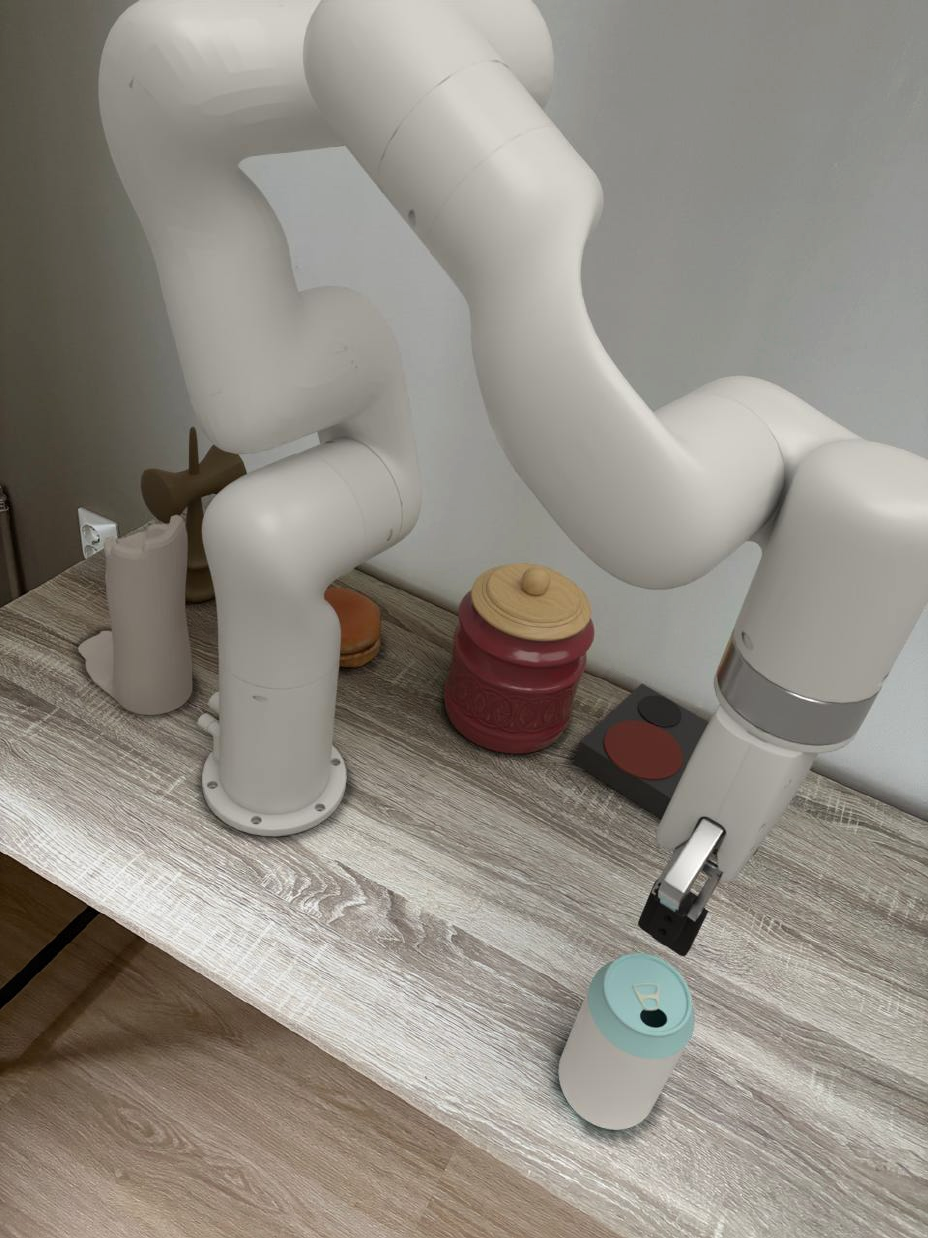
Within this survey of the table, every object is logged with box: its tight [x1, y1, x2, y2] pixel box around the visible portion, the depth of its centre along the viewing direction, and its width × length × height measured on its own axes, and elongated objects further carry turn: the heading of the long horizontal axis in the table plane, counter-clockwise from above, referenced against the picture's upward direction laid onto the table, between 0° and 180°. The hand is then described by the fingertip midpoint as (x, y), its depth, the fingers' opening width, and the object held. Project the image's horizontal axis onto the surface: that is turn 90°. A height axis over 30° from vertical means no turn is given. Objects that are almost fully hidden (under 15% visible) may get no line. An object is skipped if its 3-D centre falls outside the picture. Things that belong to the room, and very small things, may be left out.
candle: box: [77, 515, 193, 716], centre depth 90 cm, size 7×14×20 cm, turn 51°
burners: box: [604, 696, 683, 780], centre depth 93 cm, size 14×12×1 cm
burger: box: [324, 587, 382, 668], centre depth 102 cm, size 10×9×5 cm
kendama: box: [140, 426, 248, 603], centre depth 101 cm, size 6×10×20 cm, turn 139°
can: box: [558, 952, 696, 1131], centre depth 66 cm, size 7×7×12 cm
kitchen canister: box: [443, 562, 595, 754], centre depth 94 cm, size 13×13×18 cm
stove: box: [573, 683, 718, 856], centre depth 95 cm, size 17×14×3 cm
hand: (699, 887), depth 60 cm, fingers open, 9 cm apart
